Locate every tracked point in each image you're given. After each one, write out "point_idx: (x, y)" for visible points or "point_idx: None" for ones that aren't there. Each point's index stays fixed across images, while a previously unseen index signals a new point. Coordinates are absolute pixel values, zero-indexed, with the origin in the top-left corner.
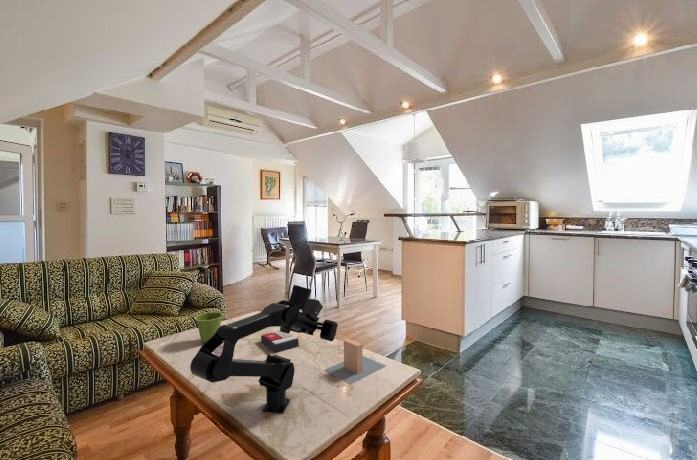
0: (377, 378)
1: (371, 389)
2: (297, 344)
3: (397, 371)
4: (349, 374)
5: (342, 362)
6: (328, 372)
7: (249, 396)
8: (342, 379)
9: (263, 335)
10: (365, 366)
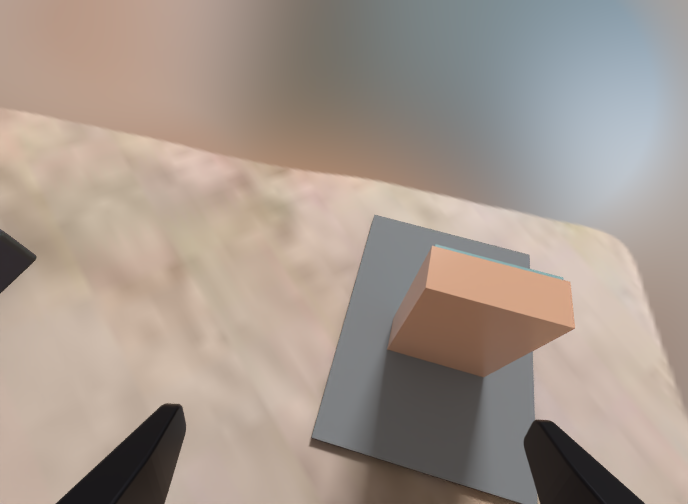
0: (571, 362)
1: (634, 479)
2: (21, 256)
3: (581, 269)
4: (459, 407)
5: (352, 312)
6: (352, 449)
7: None
8: (468, 481)
9: None
10: None
